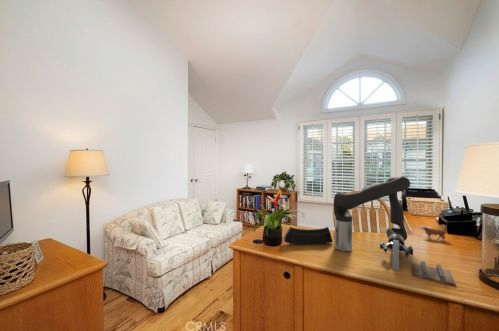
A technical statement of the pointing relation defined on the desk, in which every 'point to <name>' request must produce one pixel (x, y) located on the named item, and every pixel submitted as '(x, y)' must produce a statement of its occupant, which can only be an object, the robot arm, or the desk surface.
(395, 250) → the door panel
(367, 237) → the desk surface
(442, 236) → the bull figurine
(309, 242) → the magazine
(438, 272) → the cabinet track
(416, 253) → the desk surface
